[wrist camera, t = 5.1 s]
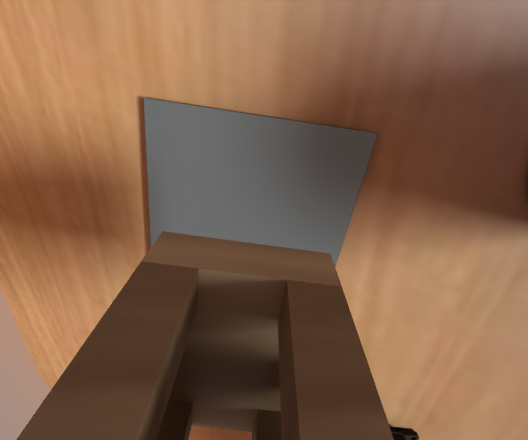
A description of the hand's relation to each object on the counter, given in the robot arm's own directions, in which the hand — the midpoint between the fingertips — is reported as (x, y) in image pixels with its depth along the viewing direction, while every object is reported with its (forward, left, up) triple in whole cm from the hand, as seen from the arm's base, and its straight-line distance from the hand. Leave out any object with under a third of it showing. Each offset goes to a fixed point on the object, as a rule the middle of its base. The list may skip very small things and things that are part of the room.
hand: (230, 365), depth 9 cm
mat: (0, 0, -10) cm, 10 cm away
